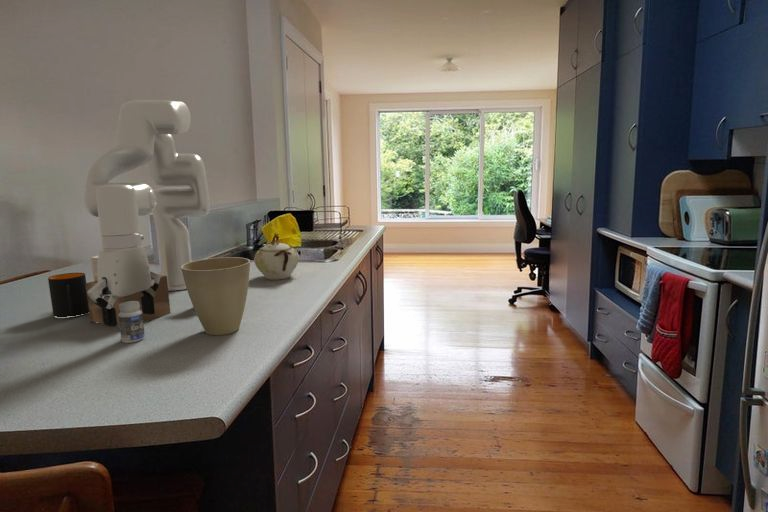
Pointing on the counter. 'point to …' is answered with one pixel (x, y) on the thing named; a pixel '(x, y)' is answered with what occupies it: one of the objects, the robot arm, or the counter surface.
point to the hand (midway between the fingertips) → (130, 319)
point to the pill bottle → (131, 322)
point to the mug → (68, 294)
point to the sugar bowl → (276, 260)
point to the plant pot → (218, 292)
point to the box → (159, 300)
